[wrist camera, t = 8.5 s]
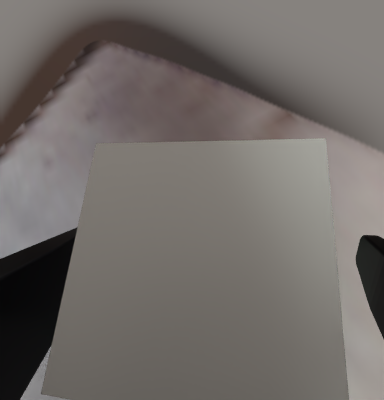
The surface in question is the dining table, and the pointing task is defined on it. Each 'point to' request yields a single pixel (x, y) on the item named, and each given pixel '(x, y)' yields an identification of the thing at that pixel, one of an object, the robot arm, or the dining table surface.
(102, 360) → the white rectangular block
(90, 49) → the dining table surface
